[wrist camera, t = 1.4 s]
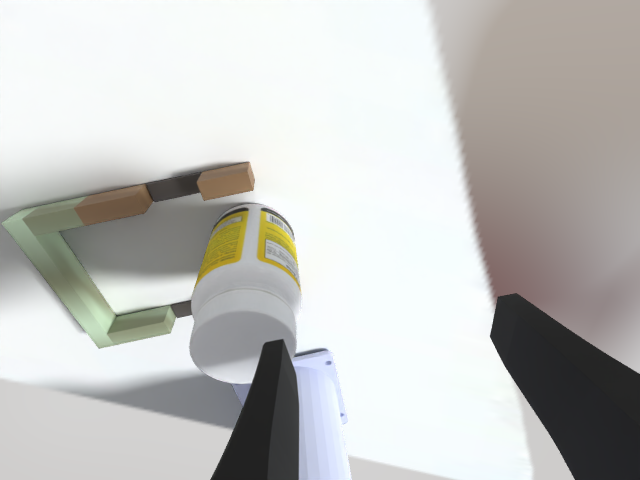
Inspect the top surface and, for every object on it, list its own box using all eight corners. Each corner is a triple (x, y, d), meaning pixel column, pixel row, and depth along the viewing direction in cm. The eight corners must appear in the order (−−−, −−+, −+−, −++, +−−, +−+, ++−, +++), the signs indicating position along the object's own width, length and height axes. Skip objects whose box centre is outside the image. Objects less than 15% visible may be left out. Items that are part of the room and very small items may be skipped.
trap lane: (287, 292, 22) (288, 307, 21) (109, 330, 22) (98, 348, 21) (249, 161, 17) (247, 171, 16) (21, 209, 17) (1, 223, 16)
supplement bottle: (212, 268, 20) (178, 391, 13) (212, 197, 18) (171, 299, 11) (290, 272, 21) (298, 390, 14) (299, 205, 19) (315, 305, 12)
